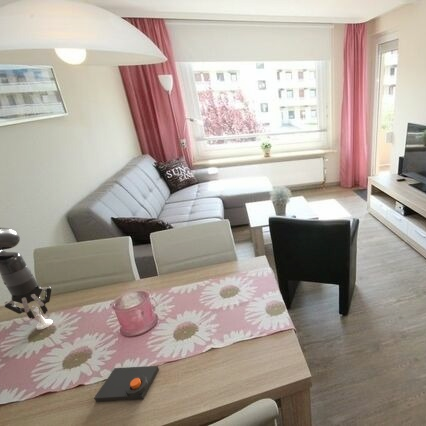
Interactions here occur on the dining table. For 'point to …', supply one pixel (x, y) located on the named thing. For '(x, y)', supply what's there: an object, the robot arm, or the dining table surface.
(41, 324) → the chess piece
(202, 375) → the dining table surface
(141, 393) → the dark grey flat block
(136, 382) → the button
